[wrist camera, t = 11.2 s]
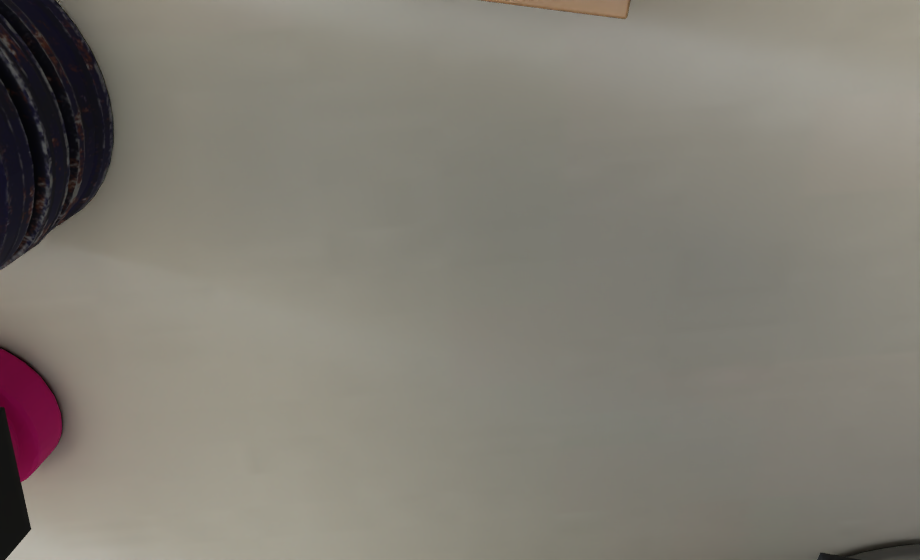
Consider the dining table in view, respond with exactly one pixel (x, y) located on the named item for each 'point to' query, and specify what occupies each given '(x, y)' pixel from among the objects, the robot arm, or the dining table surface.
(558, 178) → the dining table surface
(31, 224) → the dark blue barrel
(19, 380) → the pepper mill
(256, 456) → the dining table surface
